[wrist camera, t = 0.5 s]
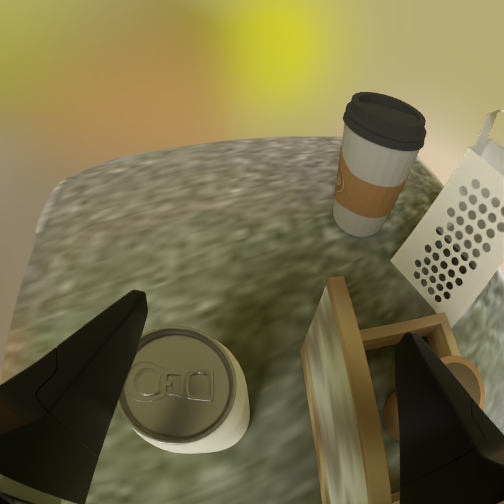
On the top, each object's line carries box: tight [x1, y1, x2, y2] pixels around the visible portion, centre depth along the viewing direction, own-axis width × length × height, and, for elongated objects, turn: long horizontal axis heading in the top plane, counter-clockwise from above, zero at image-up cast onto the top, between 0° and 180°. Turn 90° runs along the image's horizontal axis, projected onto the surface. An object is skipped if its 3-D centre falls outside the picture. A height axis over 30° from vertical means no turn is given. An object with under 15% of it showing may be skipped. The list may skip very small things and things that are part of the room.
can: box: [117, 326, 250, 453], centre depth 16 cm, size 6×6×12 cm
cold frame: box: [300, 276, 461, 504], centre depth 15 cm, size 16×14×12 cm
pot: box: [383, 355, 485, 442], centre depth 17 cm, size 6×6×7 cm
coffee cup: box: [333, 92, 426, 237], centre depth 28 cm, size 8×8×15 cm
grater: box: [390, 109, 504, 328], centre depth 21 cm, size 10×10×20 cm
